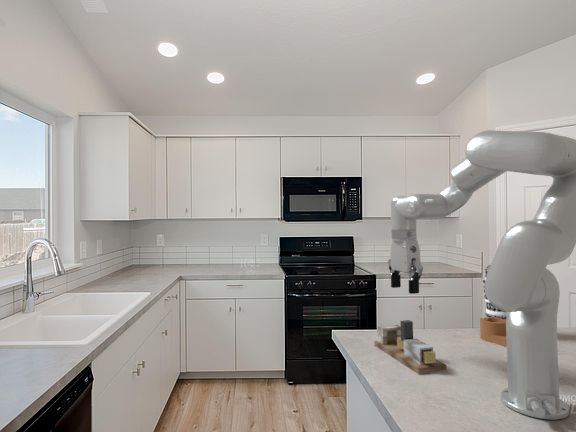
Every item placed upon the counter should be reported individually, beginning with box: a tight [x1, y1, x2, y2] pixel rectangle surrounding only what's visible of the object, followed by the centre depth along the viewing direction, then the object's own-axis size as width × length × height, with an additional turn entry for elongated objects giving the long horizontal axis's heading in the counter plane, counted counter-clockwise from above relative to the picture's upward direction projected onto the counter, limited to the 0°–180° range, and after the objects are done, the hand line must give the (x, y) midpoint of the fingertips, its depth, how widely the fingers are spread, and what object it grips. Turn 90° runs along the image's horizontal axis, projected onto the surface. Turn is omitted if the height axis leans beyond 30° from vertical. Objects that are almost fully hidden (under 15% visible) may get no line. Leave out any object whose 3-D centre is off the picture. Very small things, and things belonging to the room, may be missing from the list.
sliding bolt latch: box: [374, 323, 447, 375], centre depth 110 cm, size 24×9×7 cm, turn 15°
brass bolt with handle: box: [397, 319, 437, 364], centre depth 106 cm, size 15×3×9 cm, turn 15°
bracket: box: [479, 316, 507, 348], centre depth 121 cm, size 18×8×7 cm, turn 29°
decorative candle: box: [482, 264, 507, 320], centre depth 131 cm, size 9×9×25 cm
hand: (404, 290), depth 111 cm, fingers open, 9 cm apart
